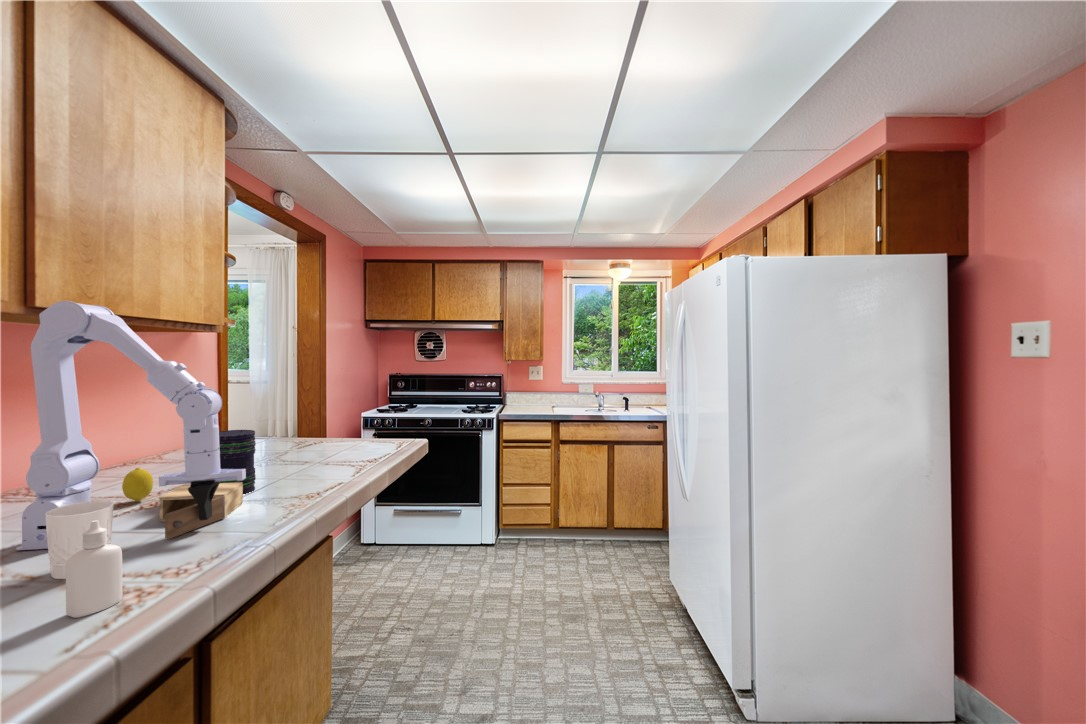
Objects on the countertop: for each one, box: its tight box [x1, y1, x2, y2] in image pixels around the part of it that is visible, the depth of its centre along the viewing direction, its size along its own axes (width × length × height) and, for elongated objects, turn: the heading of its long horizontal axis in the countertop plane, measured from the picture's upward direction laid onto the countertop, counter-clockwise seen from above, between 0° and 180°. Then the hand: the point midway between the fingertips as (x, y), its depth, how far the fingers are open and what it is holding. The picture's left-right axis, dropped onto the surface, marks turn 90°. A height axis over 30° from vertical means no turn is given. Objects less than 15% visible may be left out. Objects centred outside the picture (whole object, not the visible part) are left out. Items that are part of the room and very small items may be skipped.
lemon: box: [121, 467, 154, 503], centre depth 113 cm, size 6×6×8 cm
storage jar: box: [212, 429, 257, 495], centre depth 122 cm, size 10×10×15 cm
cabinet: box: [158, 482, 244, 522], centre depth 106 cm, size 10×12×5 cm
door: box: [164, 496, 226, 539], centre depth 97 cm, size 2×12×5 cm, turn 167°
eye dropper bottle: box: [65, 520, 123, 619], centre depth 66 cm, size 4×6×12 cm
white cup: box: [45, 500, 114, 580], centre depth 78 cm, size 8×8×10 cm
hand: (205, 518), depth 96 cm, fingers closed, pressing on door
